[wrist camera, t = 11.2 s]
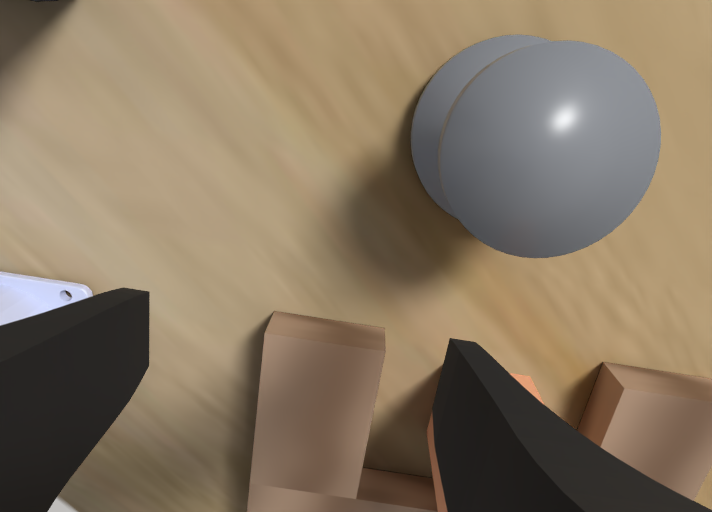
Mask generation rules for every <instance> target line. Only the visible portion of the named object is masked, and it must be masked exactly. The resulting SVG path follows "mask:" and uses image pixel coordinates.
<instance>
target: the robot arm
mask: <svg viewBox="0 0 712 512" xmlns="http://www.w3.org/2000/svg"><path fill="white" fill-rule="evenodd" d="M65 290H66V291H69V292H70V293H71V295H72V298H71V297H69V296H68V295H67V294H66V292H65ZM148 367H149V292H148V291H141V290H135V289H128V288H120V289H115V290H111V291H108V292H104V293H101V294H98V295H95V296H93V294H92V291H91V290H90V288H88V287H87V286H86V285H83V284H78V283H72V282H65V281H59V280H52V279H46V278H39V277H33V276H26V275H20V274H13V273H7V272H1V271H0V512H47V511H48V510H49V508H50V507H51V505H52V503H53V502H54V500H55V499H56V497H57V496H58V494H59V493H60V492H61V490H62V489H63V487H64V486H65V485H66V483H67V482H68V480H69V479H70V478H71V476H72V475H73V474H74V472H75V471H76V470H77V469H78V467H79V466H80V465H81V463H82V462H83V461H84V460H85V458H86V457H87V456H88V454H89V453H90V452H91V451H92V449H93V448H94V447H95V445H96V444H97V443H98V441H99V440H100V439H101V438H102V436H103V435H104V434H105V432H106V431H107V430H108V429H109V427H110V426H111V425H112V423H113V422H114V421H115V419H116V418H117V417H118V415H119V414H120V413H121V411H122V410H123V409H124V407H125V406H126V405H127V403H128V402H129V401H130V399H131V397H132V395H133V394H134V392H135V390H136V389H137V387H138V385H139V383H140V382H141V380H142V378H143V376H144V374H145V372H146V370H147V369H148ZM432 414H433V432H434V446H435V452H436V457H437V462H438V467H439V472H440V477H441V482H442V487H443V492H444V497H445V502H446V507H447V512H712V510H710V509H708V508H706V507H704V506H703V505H701V504H699V503H697V502H695V501H693V500H691V499H689V498H687V497H685V496H683V495H681V494H679V493H677V492H675V491H673V490H671V489H670V488H668V487H666V486H664V485H662V484H660V483H659V482H657V481H655V480H653V479H651V478H650V477H648V476H646V475H644V474H643V473H641V472H640V471H638V470H636V469H635V468H633V467H631V466H630V465H628V464H626V463H625V462H623V461H621V460H620V459H618V458H616V457H615V456H613V455H612V454H610V453H609V452H607V451H605V450H604V449H602V448H601V447H599V446H598V445H597V444H595V443H594V442H592V441H591V440H590V439H588V438H587V437H585V436H584V435H582V434H581V433H580V432H578V431H577V430H575V429H574V428H573V427H571V426H570V425H569V424H567V423H566V422H565V421H563V420H562V419H561V418H560V417H558V416H557V415H556V414H555V413H554V412H552V411H551V410H550V409H549V408H548V407H546V406H545V405H544V404H543V403H541V402H540V401H539V400H538V399H537V398H536V397H535V396H533V395H532V394H531V393H530V392H529V391H528V390H527V389H526V388H524V387H523V386H522V385H521V384H520V383H519V382H518V381H517V380H516V379H515V378H514V377H513V376H512V375H511V374H509V373H508V372H507V371H506V370H505V369H504V368H503V367H502V366H501V365H500V364H499V363H498V362H497V361H496V360H495V359H494V358H493V357H492V356H491V355H490V354H488V353H487V352H486V351H485V350H484V349H483V348H482V347H481V346H480V345H478V344H477V343H476V342H471V341H464V340H458V339H452V338H450V340H449V344H448V348H447V352H446V356H445V360H444V364H443V368H442V372H441V376H440V380H439V384H438V388H437V392H436V396H435V400H434V404H433V408H432Z"/></svg>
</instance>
